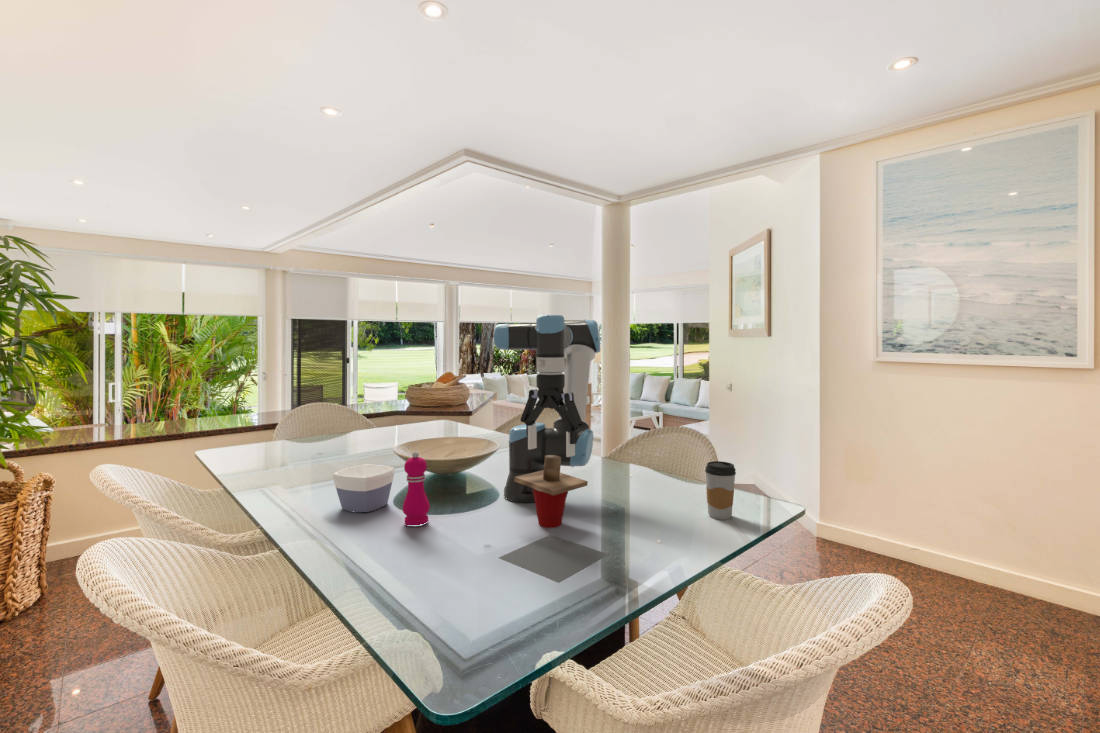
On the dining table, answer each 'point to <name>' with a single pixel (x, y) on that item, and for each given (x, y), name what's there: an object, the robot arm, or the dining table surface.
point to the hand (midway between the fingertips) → (550, 452)
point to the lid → (551, 478)
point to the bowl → (364, 487)
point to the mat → (554, 557)
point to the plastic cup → (549, 508)
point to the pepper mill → (415, 491)
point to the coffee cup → (720, 489)
